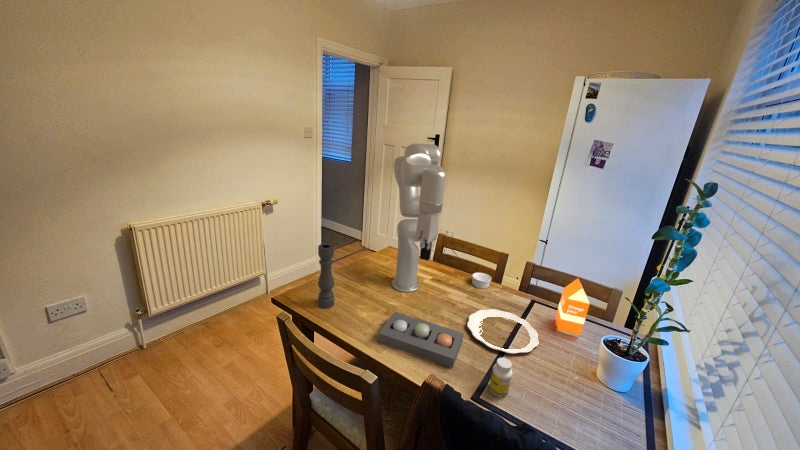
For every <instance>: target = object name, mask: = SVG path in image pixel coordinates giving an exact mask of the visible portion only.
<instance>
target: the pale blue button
mask: <svg viewBox="0 0 800 450" xmlns="http://www.w3.org/2000/svg"><path fill="white" fill-rule="evenodd" d="M393 330H396V331H399V332H402V333H405V332H406V331H407V323H406V322H405V321H404V320H396V321H394V323H393Z"/></svg>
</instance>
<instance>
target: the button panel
mask: <svg viewBox="0 0 800 450" xmlns="http://www.w3.org/2000/svg"><path fill="white" fill-rule="evenodd" d="M396 320H404V321H405V322H406V323H407V331H406V332H405V333H402V332H399V331H396V330H393V323H394V321H396ZM419 323H424V324H426V325H428V326H429V336H428V338H427V339H424V340H423V339H420V338H417V337H415V326H416V325H417V324H419ZM439 334H448V335H449V336H451V338H452V344H451V349H450V348H447V347H444V346H441V345H438V344H437V337H438V335H439ZM377 335H378V336H377V342H378V343H380V344H384V345H386V346H389V347H391V348H394V349H397V350H400V351H403V352H406V353H408V354H411V355H415V356H417V357H420V358H422V359H425V360H428V361H432V362H434V363H437V364H440V365H443V366H445V367H449V368H451V369H453V368H454V366H455V363H456V360H457V357H458V354H459V352H460V350H461V347H462V344H463V340H464V335H465V334H464V332H462V331H459V330H456V329H452V328H449V327H447V326H441V325H440V324H437V323H433V322H429V321H427V320H423V319H419V318H416V317H413V316H412V315H411V316H410V315H407V314H404V313H400V312H397V311H394V313H393V314H392V315H391V316H390V317H389V319H388V320H387V322H386V323H385V324H384V325H383V326H382V328H381V329H380V330H379V331H378V334H377Z"/></svg>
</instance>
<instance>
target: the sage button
mask: <svg viewBox="0 0 800 450" xmlns="http://www.w3.org/2000/svg"><path fill="white" fill-rule="evenodd" d="M428 336H429V326H428V325H426V324H424V323H419V324H417V325H416V326H415V337H417V338H420V339H423V340H424V339H427V338H428Z"/></svg>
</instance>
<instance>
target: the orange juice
mask: <svg viewBox="0 0 800 450" xmlns="http://www.w3.org/2000/svg"><path fill="white" fill-rule="evenodd" d="M585 291H586V290H584V288H583V285H582V283H581V281H580V279H579V278H576V279H575V280H573V281H572V282H571V283H569V284H568V285H566V286H565V287H563V289H562V293H561V296H560V301H559V303H558V306H557V307H558V308H557V311H556V315H555V318H556V322H557V328H558V330H559V331H564V332H569V333H572V334H576V335H580V336H581V334H582V331H583V327H584V324H585V321H586V318H587V314H588V312H589V308H590V301H589V298H588V296H587V293H586V292H585ZM556 322H555V323H556ZM557 328H556V329H557Z"/></svg>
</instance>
